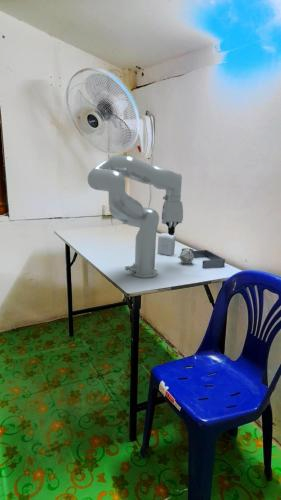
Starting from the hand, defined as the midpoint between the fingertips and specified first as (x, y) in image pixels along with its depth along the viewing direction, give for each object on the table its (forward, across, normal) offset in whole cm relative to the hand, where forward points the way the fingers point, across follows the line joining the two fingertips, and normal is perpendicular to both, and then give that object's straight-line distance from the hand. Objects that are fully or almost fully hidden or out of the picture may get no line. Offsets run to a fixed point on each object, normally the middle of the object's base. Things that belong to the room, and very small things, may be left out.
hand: (171, 234), depth 167 cm
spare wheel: (+17, +18, +17) cm, 30 cm away
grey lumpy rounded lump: (+17, +10, 0) cm, 19 cm away
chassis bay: (+16, +20, 0) cm, 26 cm away
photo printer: (+17, +6, +19) cm, 26 cm away
